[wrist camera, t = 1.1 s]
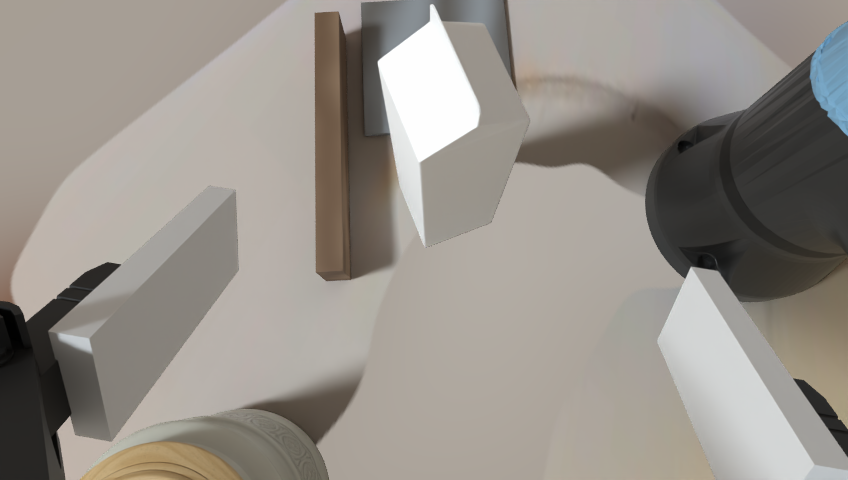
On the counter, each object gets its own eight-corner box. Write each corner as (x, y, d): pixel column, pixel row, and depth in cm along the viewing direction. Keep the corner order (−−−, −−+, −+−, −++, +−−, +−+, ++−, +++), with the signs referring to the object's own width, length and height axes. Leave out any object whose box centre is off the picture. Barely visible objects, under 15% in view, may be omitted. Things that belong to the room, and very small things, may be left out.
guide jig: (502, -3, 50) (508, -34, 46) (529, 270, 44) (539, 260, 40) (323, 7, 50) (314, -23, 46) (326, 280, 44) (315, 272, 40)
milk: (464, 160, 46) (493, -24, 25) (492, 224, 45) (547, 86, 24) (397, 185, 46) (368, 19, 25) (423, 250, 45) (417, 134, 23)
